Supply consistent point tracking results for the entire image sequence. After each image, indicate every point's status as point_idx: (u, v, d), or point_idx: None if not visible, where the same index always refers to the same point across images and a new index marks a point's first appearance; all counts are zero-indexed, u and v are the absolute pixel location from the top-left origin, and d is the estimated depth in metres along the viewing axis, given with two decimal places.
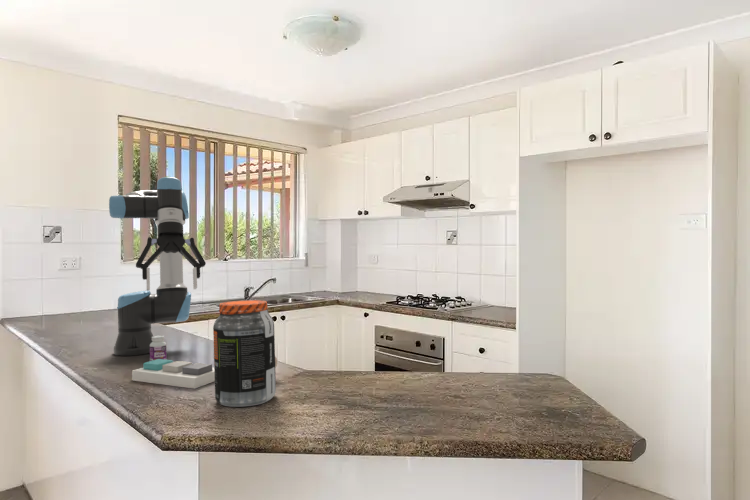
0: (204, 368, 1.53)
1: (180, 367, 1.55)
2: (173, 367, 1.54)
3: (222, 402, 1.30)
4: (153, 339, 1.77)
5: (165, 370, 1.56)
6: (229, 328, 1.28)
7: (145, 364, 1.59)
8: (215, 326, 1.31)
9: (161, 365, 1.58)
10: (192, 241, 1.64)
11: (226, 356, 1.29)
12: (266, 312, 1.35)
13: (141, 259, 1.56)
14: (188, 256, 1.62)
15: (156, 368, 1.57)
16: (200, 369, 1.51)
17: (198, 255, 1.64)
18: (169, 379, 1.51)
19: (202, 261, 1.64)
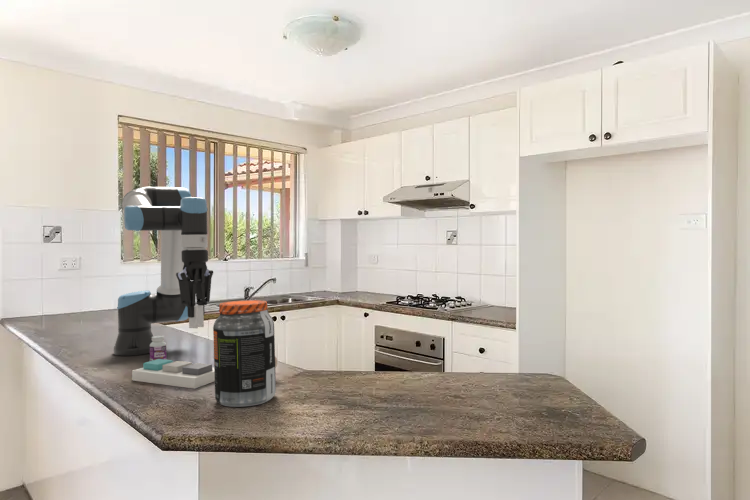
0: (204, 368, 1.53)
1: (180, 367, 1.55)
2: (173, 367, 1.54)
3: (222, 402, 1.30)
4: (153, 339, 1.77)
5: (165, 370, 1.56)
6: (229, 328, 1.28)
7: (145, 364, 1.59)
8: (215, 326, 1.31)
9: (161, 365, 1.58)
10: (211, 274, 1.59)
11: (226, 356, 1.29)
12: (266, 312, 1.35)
13: (189, 297, 1.50)
14: (202, 289, 1.55)
15: (156, 368, 1.57)
16: (200, 369, 1.51)
17: (208, 290, 1.57)
18: (169, 379, 1.51)
19: (208, 297, 1.57)
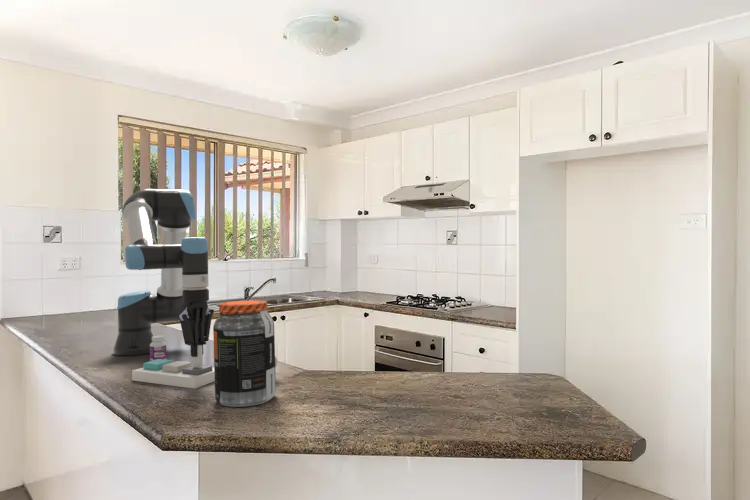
0: (204, 370, 1.53)
1: (180, 367, 1.55)
2: (173, 367, 1.54)
3: (222, 402, 1.30)
4: (153, 339, 1.77)
5: (165, 370, 1.56)
6: (229, 328, 1.28)
7: (145, 364, 1.59)
8: (215, 326, 1.31)
9: (161, 365, 1.58)
10: (211, 313, 1.58)
11: (226, 356, 1.29)
12: (266, 312, 1.35)
13: (191, 337, 1.51)
14: (202, 329, 1.55)
15: (156, 368, 1.57)
16: (200, 371, 1.51)
17: (208, 329, 1.57)
18: (169, 379, 1.51)
19: (207, 336, 1.57)
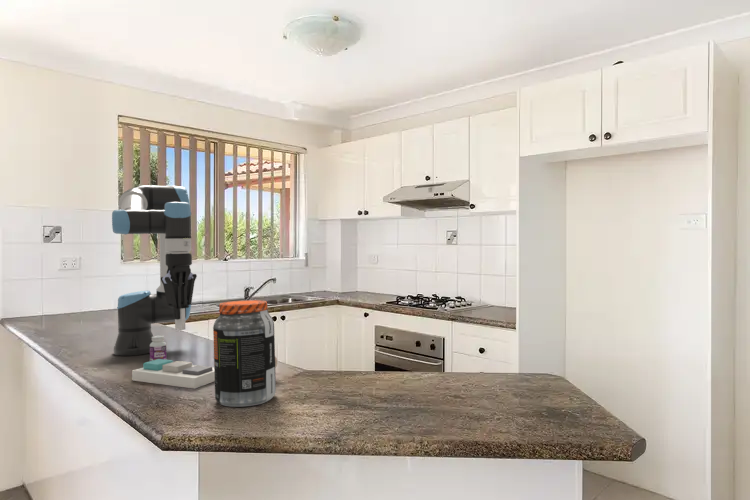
0: (204, 370, 1.53)
1: (180, 367, 1.55)
2: (173, 367, 1.54)
3: (222, 402, 1.30)
4: (153, 339, 1.77)
5: (165, 370, 1.56)
6: (229, 328, 1.28)
7: (145, 364, 1.59)
8: (215, 326, 1.31)
9: (161, 365, 1.58)
10: (194, 277, 1.61)
11: (226, 356, 1.29)
12: (266, 312, 1.35)
13: (174, 300, 1.54)
14: (185, 292, 1.58)
15: (156, 368, 1.57)
16: (200, 372, 1.51)
17: (190, 293, 1.60)
18: (169, 379, 1.51)
19: (190, 300, 1.60)
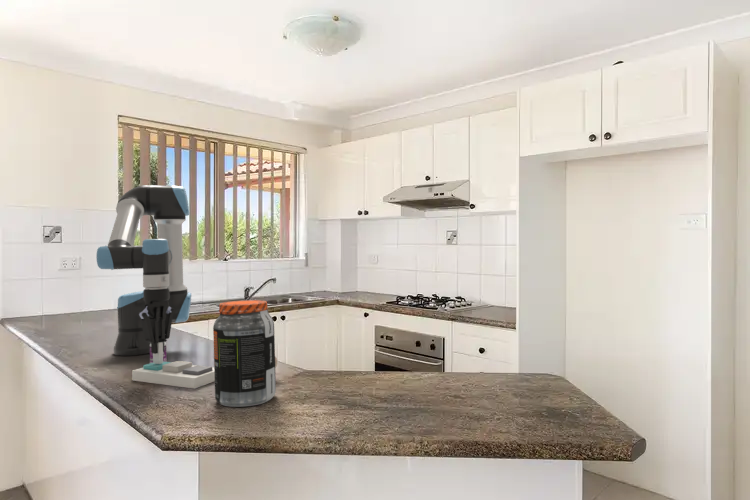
0: (204, 370, 1.53)
1: (180, 367, 1.55)
2: (173, 367, 1.54)
3: (222, 402, 1.30)
4: None
5: (165, 370, 1.56)
6: (229, 328, 1.28)
7: (145, 366, 1.59)
8: (215, 326, 1.31)
9: (161, 367, 1.58)
10: (172, 311, 1.65)
11: (226, 356, 1.29)
12: (266, 312, 1.35)
13: (151, 335, 1.57)
14: (162, 327, 1.61)
15: (156, 370, 1.57)
16: (200, 372, 1.51)
17: (169, 327, 1.64)
18: (169, 379, 1.51)
19: (168, 334, 1.63)
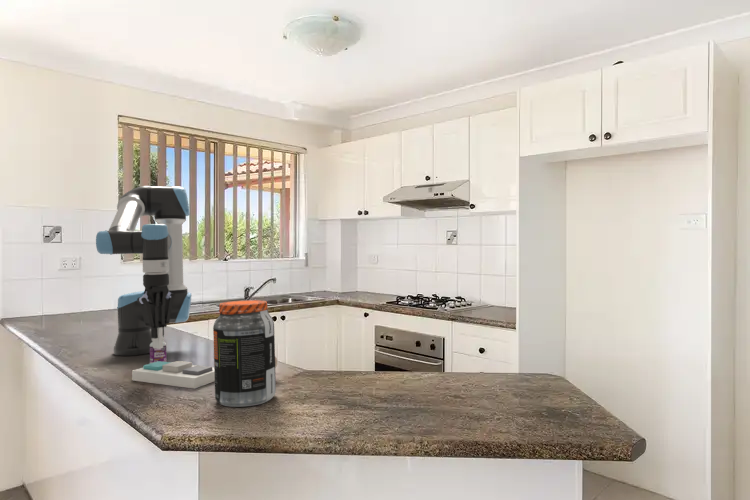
0: (204, 370, 1.53)
1: (180, 367, 1.55)
2: (173, 367, 1.54)
3: (222, 402, 1.30)
4: None
5: (165, 370, 1.56)
6: (229, 328, 1.28)
7: (145, 366, 1.59)
8: (215, 326, 1.31)
9: (161, 367, 1.58)
10: (172, 297, 1.65)
11: (226, 356, 1.29)
12: (266, 312, 1.35)
13: (151, 320, 1.58)
14: (162, 312, 1.61)
15: (156, 370, 1.57)
16: (200, 372, 1.51)
17: (168, 312, 1.64)
18: (169, 379, 1.51)
19: (168, 319, 1.63)
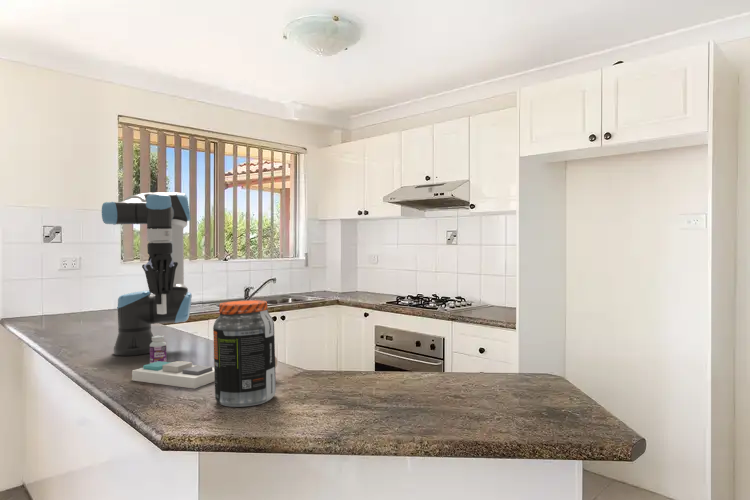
0: (204, 370, 1.53)
1: (180, 367, 1.55)
2: (173, 367, 1.54)
3: (222, 402, 1.30)
4: (153, 339, 1.77)
5: (165, 370, 1.56)
6: (229, 328, 1.28)
7: (145, 366, 1.59)
8: (215, 326, 1.31)
9: (161, 367, 1.58)
10: (175, 265, 1.72)
11: (226, 356, 1.29)
12: (266, 312, 1.35)
13: (155, 286, 1.65)
14: (166, 279, 1.69)
15: (156, 370, 1.57)
16: (200, 372, 1.51)
17: (172, 280, 1.71)
18: (169, 379, 1.51)
19: (171, 287, 1.71)
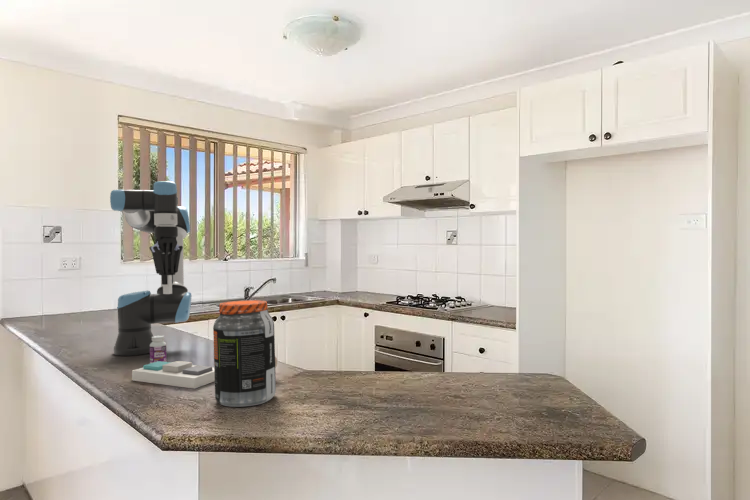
0: (204, 370, 1.53)
1: (180, 367, 1.55)
2: (173, 367, 1.54)
3: (222, 402, 1.30)
4: (153, 339, 1.77)
5: (165, 370, 1.56)
6: (229, 328, 1.28)
7: (145, 366, 1.59)
8: (215, 326, 1.31)
9: (161, 367, 1.58)
10: (180, 249, 1.83)
11: (226, 356, 1.29)
12: (266, 312, 1.35)
13: (162, 267, 1.75)
14: (171, 261, 1.79)
15: (156, 370, 1.57)
16: (200, 372, 1.51)
17: (177, 262, 1.81)
18: (169, 379, 1.51)
19: (176, 268, 1.81)
